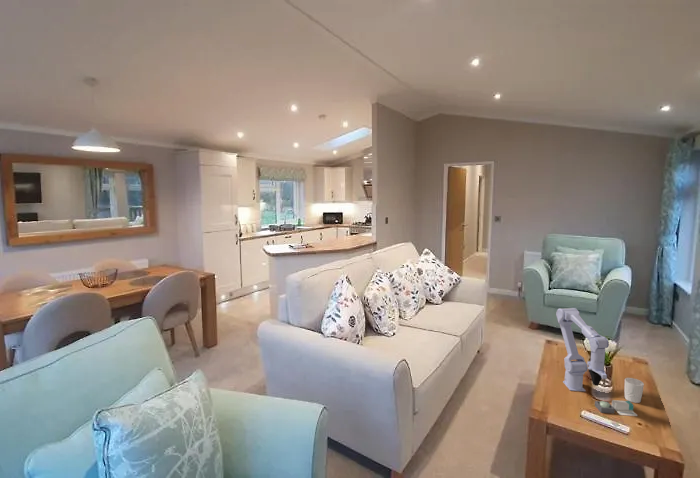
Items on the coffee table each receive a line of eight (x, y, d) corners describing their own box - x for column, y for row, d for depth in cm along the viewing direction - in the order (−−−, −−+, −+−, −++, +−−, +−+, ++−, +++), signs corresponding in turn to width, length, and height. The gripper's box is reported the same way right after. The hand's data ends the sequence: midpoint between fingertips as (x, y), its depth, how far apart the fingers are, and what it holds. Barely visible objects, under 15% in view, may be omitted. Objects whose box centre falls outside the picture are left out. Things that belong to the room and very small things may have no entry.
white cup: (644, 405, 183) (646, 386, 182) (625, 401, 186) (626, 383, 185) (639, 397, 190) (641, 379, 189) (621, 393, 193) (622, 376, 192)
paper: (610, 405, 183) (610, 405, 183) (627, 406, 182) (627, 406, 182) (620, 415, 175) (620, 414, 175) (637, 416, 174) (638, 415, 174)
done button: (597, 406, 182) (598, 401, 182) (606, 407, 182) (606, 401, 181) (602, 411, 178) (602, 405, 178) (610, 411, 178) (611, 406, 177)
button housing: (594, 405, 183) (594, 400, 183) (607, 406, 183) (607, 401, 182) (601, 412, 178) (601, 407, 177) (614, 413, 177) (614, 408, 176)
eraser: (615, 410, 179) (616, 404, 178) (611, 406, 182) (612, 400, 182) (632, 411, 178) (633, 405, 177) (628, 407, 181) (629, 400, 181)
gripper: (581, 353, 190) (580, 377, 192) (596, 366, 176) (594, 392, 178) (596, 353, 189) (594, 377, 191) (612, 367, 175) (610, 393, 177)
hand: (595, 384), depth 184 cm, fingers closed
